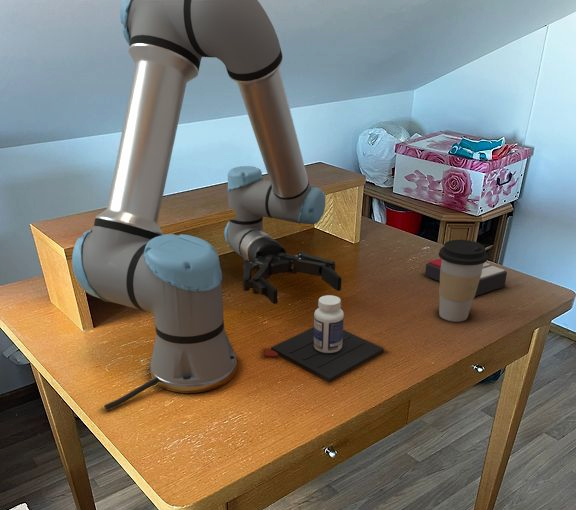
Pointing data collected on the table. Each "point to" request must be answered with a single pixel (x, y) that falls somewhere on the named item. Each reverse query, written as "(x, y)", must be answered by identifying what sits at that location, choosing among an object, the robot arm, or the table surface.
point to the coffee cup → (459, 277)
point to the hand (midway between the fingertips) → (308, 290)
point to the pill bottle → (328, 324)
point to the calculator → (488, 280)
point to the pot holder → (325, 354)
